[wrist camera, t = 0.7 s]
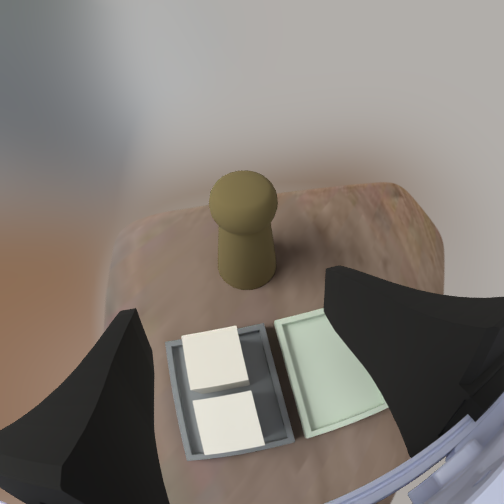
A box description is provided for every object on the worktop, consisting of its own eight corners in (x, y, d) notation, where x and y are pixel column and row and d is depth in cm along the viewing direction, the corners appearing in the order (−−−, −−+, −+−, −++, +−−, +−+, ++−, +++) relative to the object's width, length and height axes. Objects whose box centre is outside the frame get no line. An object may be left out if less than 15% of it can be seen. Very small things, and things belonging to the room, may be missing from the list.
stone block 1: (250, 385, 22) (248, 379, 18) (202, 393, 21) (190, 390, 18) (239, 340, 24) (236, 325, 20) (193, 349, 24) (181, 335, 20)
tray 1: (293, 440, 19) (295, 441, 18) (190, 458, 18) (187, 460, 17) (263, 327, 25) (263, 323, 24) (168, 345, 24) (165, 341, 23)
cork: (270, 235, 31) (274, 155, 21) (281, 284, 27) (294, 211, 18) (215, 243, 30) (198, 165, 21) (220, 294, 27) (202, 223, 18)
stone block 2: (263, 438, 19) (265, 445, 15) (214, 447, 19) (204, 455, 15) (252, 393, 21) (251, 390, 18) (203, 402, 21) (192, 400, 17)
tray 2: (386, 406, 20) (391, 405, 19) (304, 437, 19) (307, 438, 18) (351, 303, 26) (355, 299, 25) (273, 324, 25) (274, 320, 24)
